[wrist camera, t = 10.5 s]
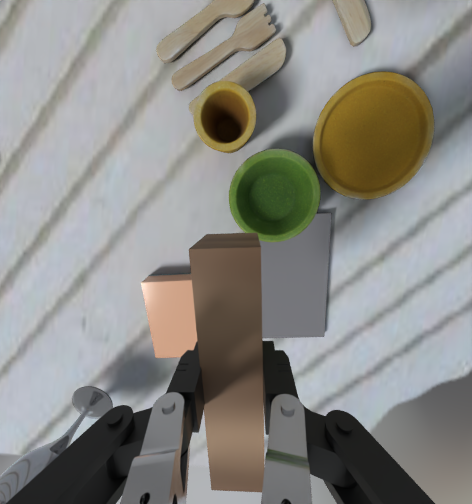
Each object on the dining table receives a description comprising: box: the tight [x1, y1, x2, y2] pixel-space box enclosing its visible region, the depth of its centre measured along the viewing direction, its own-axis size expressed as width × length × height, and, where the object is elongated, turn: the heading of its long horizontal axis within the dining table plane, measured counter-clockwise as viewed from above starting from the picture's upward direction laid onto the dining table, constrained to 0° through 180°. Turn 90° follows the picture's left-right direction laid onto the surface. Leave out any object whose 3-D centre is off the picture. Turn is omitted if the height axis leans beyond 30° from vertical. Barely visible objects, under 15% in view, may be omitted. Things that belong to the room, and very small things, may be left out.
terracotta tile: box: [141, 274, 197, 358], centre depth 32 cm, size 3×10×12 cm
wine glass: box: [0, 387, 112, 504], centre depth 31 cm, size 8×8×15 cm
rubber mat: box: [259, 213, 332, 338], centre depth 30 cm, size 18×10×1 cm, turn 3°
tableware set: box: [156, 0, 434, 242], centre depth 20 cm, size 41×28×6 cm
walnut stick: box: [189, 233, 264, 492], centre depth 13 cm, size 14×3×4 cm, turn 2°
